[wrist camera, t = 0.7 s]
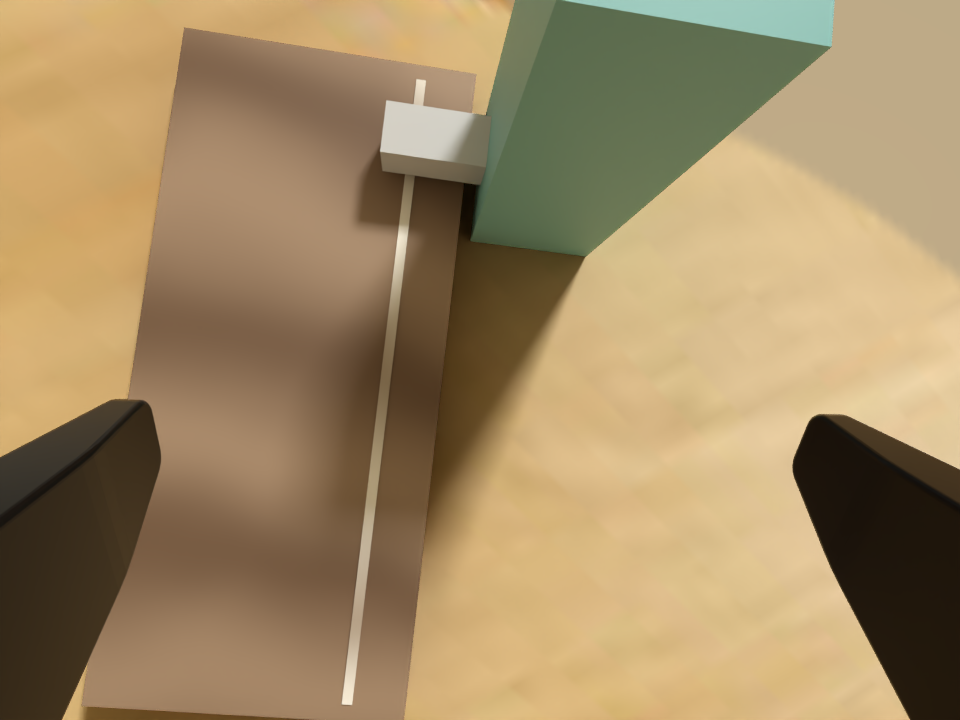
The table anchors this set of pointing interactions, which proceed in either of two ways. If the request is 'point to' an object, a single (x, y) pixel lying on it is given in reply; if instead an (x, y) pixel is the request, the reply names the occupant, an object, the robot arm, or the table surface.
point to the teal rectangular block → (604, 109)
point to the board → (285, 390)
